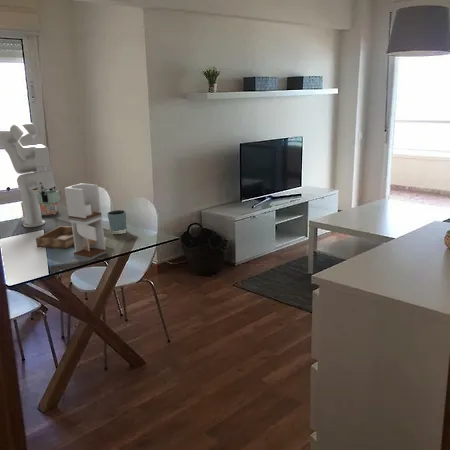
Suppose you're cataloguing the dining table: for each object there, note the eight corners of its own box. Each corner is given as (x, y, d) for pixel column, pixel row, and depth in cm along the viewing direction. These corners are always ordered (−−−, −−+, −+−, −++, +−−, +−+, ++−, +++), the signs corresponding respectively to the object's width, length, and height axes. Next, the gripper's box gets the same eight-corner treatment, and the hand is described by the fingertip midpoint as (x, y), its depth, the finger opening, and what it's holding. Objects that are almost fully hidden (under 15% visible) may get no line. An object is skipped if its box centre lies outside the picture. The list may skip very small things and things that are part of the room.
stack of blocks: (23, 216, 335) (19, 198, 331) (26, 213, 341) (23, 195, 337) (55, 214, 336) (53, 196, 332) (58, 212, 342) (55, 194, 338)
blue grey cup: (123, 235, 284) (121, 214, 281) (106, 235, 286) (104, 214, 283) (130, 230, 294) (128, 209, 290) (114, 229, 296) (111, 209, 292)
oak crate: (37, 247, 272) (35, 238, 270) (60, 234, 292) (59, 226, 290) (66, 248, 267) (65, 239, 265) (88, 235, 287) (87, 227, 285)
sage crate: (38, 203, 285) (36, 193, 284) (45, 201, 291) (43, 190, 290) (53, 203, 283) (52, 193, 281) (60, 201, 288) (58, 190, 287)
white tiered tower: (74, 256, 255) (64, 187, 245) (89, 249, 264) (81, 183, 253) (90, 259, 249) (81, 189, 239) (106, 252, 258) (97, 184, 248)
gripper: (47, 166, 291) (52, 197, 296) (28, 171, 275) (33, 204, 280) (59, 166, 289) (63, 197, 294) (40, 171, 273) (45, 204, 278)
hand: (49, 200), depth 287 cm, fingers closed on sage crate, 6 cm apart
